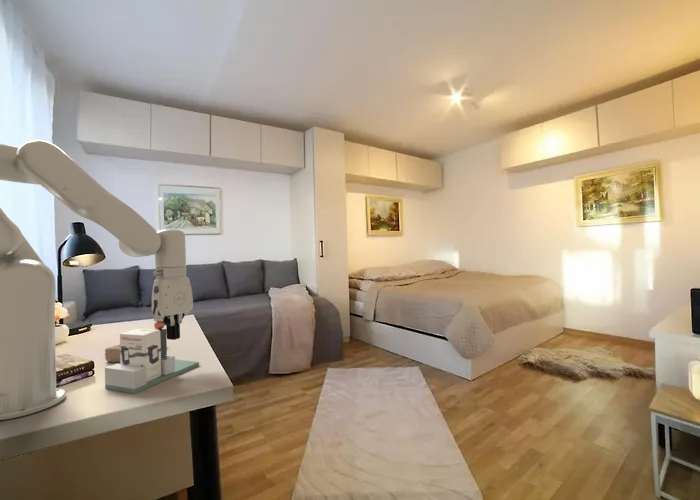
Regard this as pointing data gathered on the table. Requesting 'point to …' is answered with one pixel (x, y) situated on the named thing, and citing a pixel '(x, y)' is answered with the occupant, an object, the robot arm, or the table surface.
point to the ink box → (142, 350)
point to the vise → (139, 376)
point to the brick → (113, 354)
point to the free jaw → (165, 351)
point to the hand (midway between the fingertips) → (173, 338)
